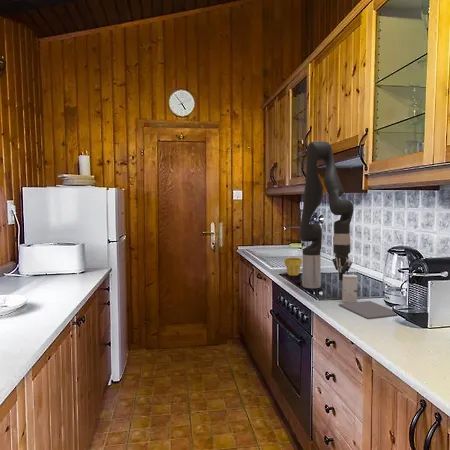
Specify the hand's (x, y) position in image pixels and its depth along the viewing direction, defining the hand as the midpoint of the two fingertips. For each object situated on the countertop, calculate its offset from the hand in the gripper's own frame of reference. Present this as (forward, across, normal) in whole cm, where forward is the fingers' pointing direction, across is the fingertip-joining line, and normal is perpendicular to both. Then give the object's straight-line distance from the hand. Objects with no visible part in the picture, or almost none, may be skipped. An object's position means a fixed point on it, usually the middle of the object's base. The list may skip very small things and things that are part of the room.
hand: (341, 280), depth 176 cm
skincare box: (+9, +6, 0) cm, 11 cm away
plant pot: (+8, -57, +3) cm, 58 cm away
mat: (+9, +20, 0) cm, 21 cm away
